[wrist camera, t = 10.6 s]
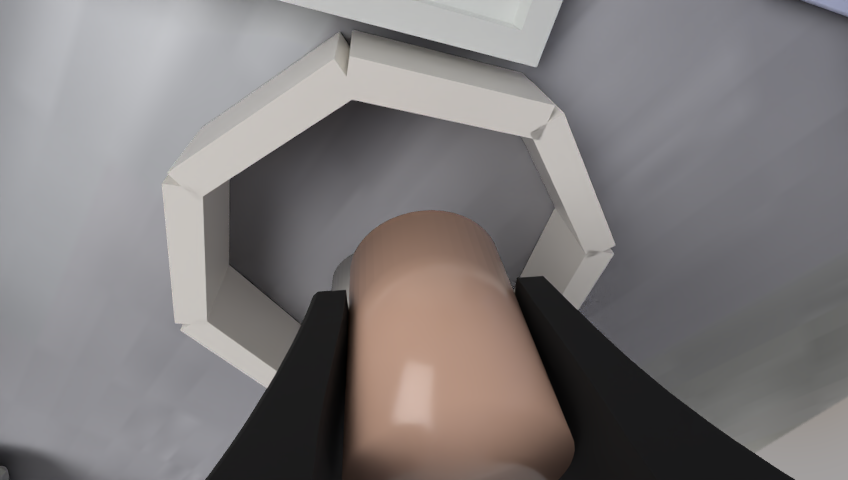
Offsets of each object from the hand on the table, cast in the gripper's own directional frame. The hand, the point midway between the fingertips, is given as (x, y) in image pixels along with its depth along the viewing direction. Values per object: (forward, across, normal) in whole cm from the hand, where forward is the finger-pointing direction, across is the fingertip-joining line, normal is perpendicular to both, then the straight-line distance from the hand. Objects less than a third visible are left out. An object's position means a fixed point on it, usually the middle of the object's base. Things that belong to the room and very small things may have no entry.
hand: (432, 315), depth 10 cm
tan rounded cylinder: (+1, 0, 0) cm, 1 cm away
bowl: (+7, +1, +3) cm, 7 cm away
